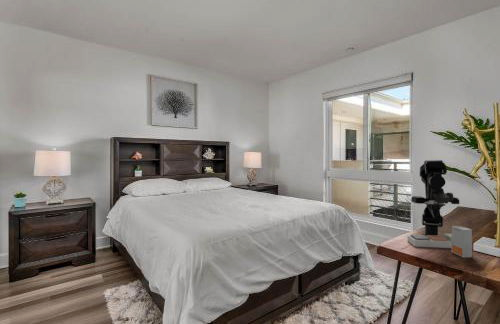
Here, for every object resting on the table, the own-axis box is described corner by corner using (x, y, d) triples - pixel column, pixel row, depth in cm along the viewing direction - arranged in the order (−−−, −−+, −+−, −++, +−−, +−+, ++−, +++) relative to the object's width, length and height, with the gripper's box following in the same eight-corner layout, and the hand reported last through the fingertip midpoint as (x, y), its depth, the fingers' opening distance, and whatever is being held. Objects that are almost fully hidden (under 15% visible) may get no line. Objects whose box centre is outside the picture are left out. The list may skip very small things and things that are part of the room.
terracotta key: (427, 240, 128) (427, 235, 128) (440, 240, 127) (440, 235, 127) (433, 244, 122) (433, 238, 122) (447, 244, 121) (447, 239, 121)
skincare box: (450, 252, 115) (450, 225, 114) (459, 252, 115) (459, 225, 115) (463, 257, 109) (463, 229, 108) (472, 257, 109) (472, 229, 109)
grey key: (410, 239, 130) (410, 234, 130) (424, 239, 129) (424, 235, 129) (416, 243, 124) (416, 238, 124) (430, 243, 123) (430, 238, 123)
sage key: (443, 238, 127) (443, 233, 127) (457, 239, 126) (457, 233, 126) (450, 242, 121) (450, 237, 121) (465, 243, 120) (465, 237, 120)
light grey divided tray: (407, 240, 131) (407, 235, 131) (458, 243, 127) (458, 237, 127) (414, 246, 123) (414, 240, 123) (469, 248, 119) (469, 242, 119)
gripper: (421, 187, 119) (421, 221, 119) (466, 187, 116) (467, 222, 116) (410, 185, 130) (411, 215, 130) (452, 185, 127) (452, 216, 127)
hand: (434, 217), depth 126 cm, fingers closed
